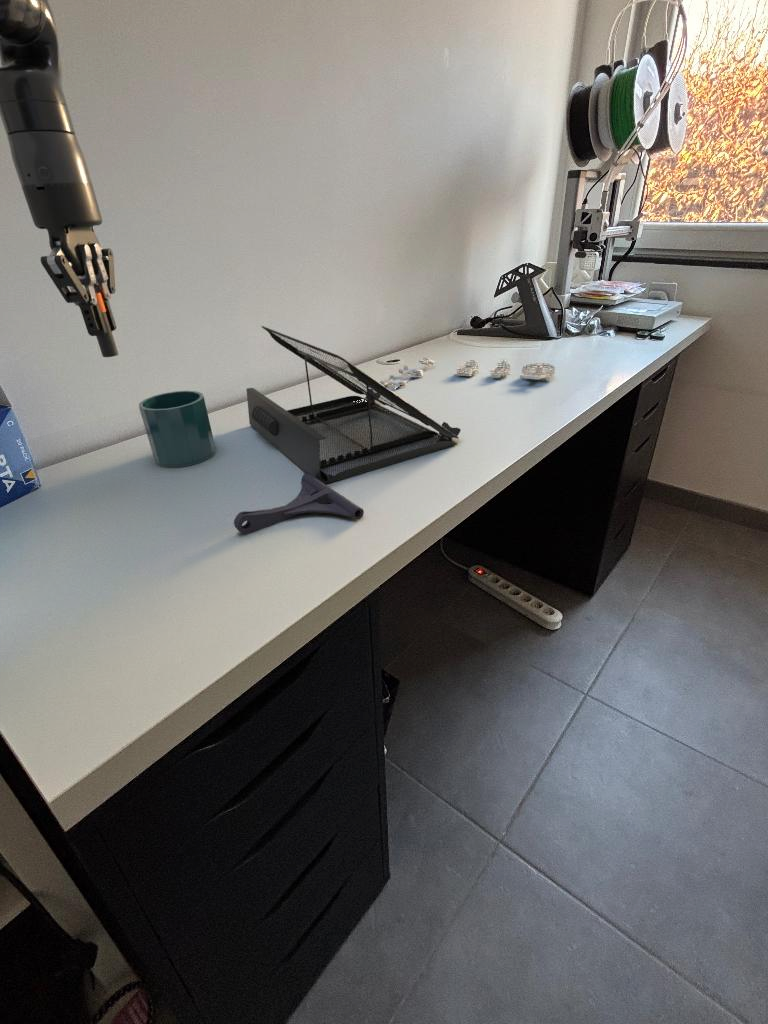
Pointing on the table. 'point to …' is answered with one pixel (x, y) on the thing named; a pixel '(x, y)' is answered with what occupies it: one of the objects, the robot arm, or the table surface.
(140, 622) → the table surface
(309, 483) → the bracket
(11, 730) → the table surface
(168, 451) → the pen pot
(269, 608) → the table surface
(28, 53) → the robot arm
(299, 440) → the laptop stand
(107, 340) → the marker
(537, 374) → the drone parts
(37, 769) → the table surface
